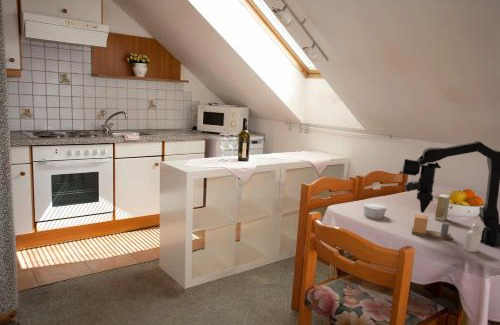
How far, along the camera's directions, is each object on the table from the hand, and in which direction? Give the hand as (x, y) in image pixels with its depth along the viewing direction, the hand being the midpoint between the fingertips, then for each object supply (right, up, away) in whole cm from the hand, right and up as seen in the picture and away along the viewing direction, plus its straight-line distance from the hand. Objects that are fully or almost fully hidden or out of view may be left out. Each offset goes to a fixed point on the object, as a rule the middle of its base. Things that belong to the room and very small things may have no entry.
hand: (422, 211), depth 179 cm
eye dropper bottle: (+13, -14, -16) cm, 25 cm away
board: (+4, -10, 0) cm, 11 cm away
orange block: (-1, -9, +2) cm, 9 cm away
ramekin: (-14, -5, +24) cm, 28 cm away
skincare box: (+20, -7, +25) cm, 33 cm away
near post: (+9, -11, -2) cm, 14 cm away
